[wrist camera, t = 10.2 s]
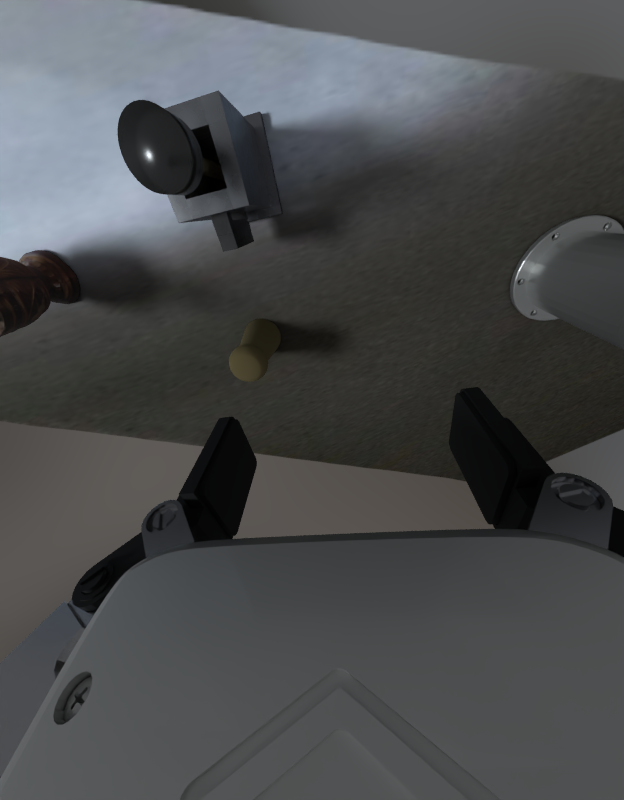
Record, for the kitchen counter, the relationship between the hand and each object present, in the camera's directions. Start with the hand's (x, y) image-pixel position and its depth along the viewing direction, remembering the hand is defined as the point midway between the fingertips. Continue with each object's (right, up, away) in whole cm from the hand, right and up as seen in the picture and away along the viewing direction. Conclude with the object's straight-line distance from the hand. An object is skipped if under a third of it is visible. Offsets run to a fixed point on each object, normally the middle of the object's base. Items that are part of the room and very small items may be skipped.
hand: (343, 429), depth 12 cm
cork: (-9, +12, +32) cm, 36 cm away
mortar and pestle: (-39, +20, +29) cm, 52 cm away
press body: (-10, +27, +21) cm, 36 cm away
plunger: (-11, +26, +17) cm, 33 cm away
